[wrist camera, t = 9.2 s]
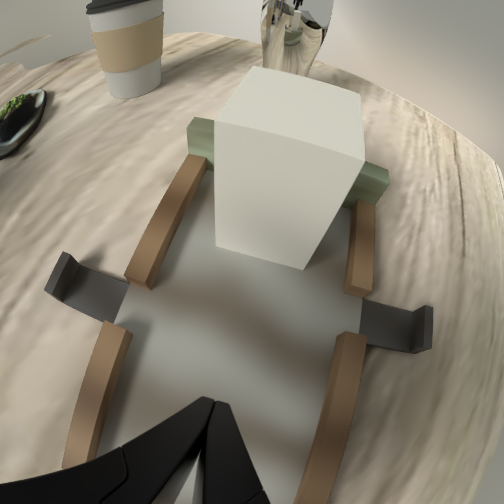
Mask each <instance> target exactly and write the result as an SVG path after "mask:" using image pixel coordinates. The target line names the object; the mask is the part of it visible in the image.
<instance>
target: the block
mask: <svg viewBox="0 0 504 504" xmlns="http://www.w3.org/2000/svg"><path fill="white" fill-rule="evenodd" d="M364 162H365V147H364V131H363V118H362V107H361V97H360V94H358V93H355V92H353V91H350V90H347V89H344V88H341V87H338V86H335V85H331V84H328V83H325V82H321V81H318V80H314V79H311V78H307V77H303V76H299V75H295V74H291V73H287V72H282V71H278V70H273V69H268V68H263V67H258V66H253V67H252V68H251V69H250V70H249V72H248V73H247V75H246V76H245V77H244V79H243V80H242V81H241V83H240V84H239V85H238V87H237V88H236V90H235V91H234V92H233V94H232V95H231V97H230V98H229V100H228V101H227V102H226V104H225V105H224V107H223V108H222V110H221V111H220V113H219V114H218V116H217V117H216V119H215V120H214V194H215V238H216V246H217V247H221V248H224V249H228V250H231V251H235V252H239V253H242V254H246V255H249V256H253V257H257V258H260V259H264V260H267V261H271V262H275V263H278V264H282V265H285V266H289V267H293V268H296V269H300V270H304V268H305V266H306V265H307V263H308V261H309V260H310V258H311V256H312V255H313V253H314V251H315V250H316V248H317V246H318V245H319V243H320V241H321V240H322V238H323V236H324V234H325V233H326V231H327V229H328V228H329V226H330V224H331V222H332V221H333V219H334V217H335V215H336V214H337V212H338V210H339V208H340V206H341V205H342V203H343V201H344V199H345V198H346V196H347V194H348V192H349V190H350V188H351V187H352V185H353V183H354V181H355V179H356V177H357V176H358V174H359V172H360V170H361V168H362V166H363V164H364Z"/></svg>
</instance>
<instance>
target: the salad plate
mask: <svg viewBox="0 0 504 504" xmlns="http://www.w3.org/2000/svg"><path fill="white" fill-rule="evenodd" d="M46 96H47V93H46V92H45V91H44V90H43V89H37V90H32V91H30V92H28V93H26V94H24V95H20V96H18V97H15V98H13V100H12V101H9V102H8V103H7V105H6V106H5V107H3V108H1V109H0V159H2V158H3V157H5V156H7V155H8V154H10V153H11V152H13V151H14V150H15V149H17V148H18V147H19V146H20V145H21V144H22V143H23V142H24V141H25V140H26V139H27V138H28V137H29V136H30V135H31V134H32V133H33V132H34V130H35V129H36V128H37V126H38V124H39V122H40V120H41V118H42V115H43V112H44V108H45V105H46V98H47V97H46Z"/></svg>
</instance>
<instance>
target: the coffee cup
mask: <svg viewBox="0 0 504 504" xmlns="http://www.w3.org/2000/svg"><path fill="white" fill-rule="evenodd" d="M86 8H87V12H86V14H88V15H89V19H90V23H91V27H92V30H91V33H92V36H93V40H94V44H95V47H96V51H97V54H98V58H99V61H100V65H101V68H102V70H103V71H104V74H105V77H106V81H107V84H108V87H109V90H110V93H111V96H112V97H114V98H117V99H129V98H134V97H138V96H141V95H144V94H147V93H149V92H151V91H153V90H154V89H156V88H157V87H158V86H159V85H160V83H161V55H162V46H163V19H164V12H163V11H162V9H163V0H92V3H90V4H88V5H87V6H86Z"/></svg>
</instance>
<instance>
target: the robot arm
mask: <svg viewBox="0 0 504 504" xmlns="http://www.w3.org/2000/svg"><path fill="white" fill-rule="evenodd" d="M200 450H201V451H200ZM199 453H200V454H199ZM198 456H199V458H198ZM197 459H198V463H197V469H196V477H195V484H194V491H193V499H192V504H271V503H270V501H269V498H268V496H267V494H266V492H265V490H263V489H264V488H263V486H262V484H261V481H260V479H259V477H258V475H257V472H256V470H255V468H254V465H253V463H252V460H251V458H250V456H249V453H248V451H247V448H246V446H245V443H244V441H243V438H242V436H241V433H240V430H239V428H238V425H237V423H236V420H235V417H234V415H233V412H232V409H231V406H230V404H229V403H226V402H222V401H219V400H217V401H215V400H214V399H212V398H209V397H205V396H201V397H199V398H198V399H196V400H195V401H193V402H192V403H190V404H189V405H187V406H186V407H184V408H183V409H181V410H180V411H178V412H177V413H175V414H173V415H172V416H170V417H169V418H167V419H166V420H164V421H162V422H161V423H159V424H157V425H156V426H154V427H153V428H151V429H149V430H148V431H146V432H144V433H142V434H141V435H139V436H137V437H136V438H134V439H132V440H130V441H129V442H127V443H125V444H123V445H122V446H121V447H120V446H119V447H117V448H115V449H113V450H112V451H110V452H108V453H106V454H104V455H101V456H99V457H97V458H95V459H93V460H90V461H88V462H85V463H82V464H79V465H76V466H74V467H70V468H67V469H64V470H60V471H57V472H53V473H49V474H45V475H41V476H37V477H33V478H29V479H24V480H19V481H14V482H8V483H2V484H0V504H174V503H175V501H176V499H177V497H178V495H179V494H180V492H181V490H182V488H183V486H184V484H185V482H186V480H187V479H188V477H189V475H190V473H191V471H192V469H193V467H194V465H195V463H196V461H197Z"/></svg>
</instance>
